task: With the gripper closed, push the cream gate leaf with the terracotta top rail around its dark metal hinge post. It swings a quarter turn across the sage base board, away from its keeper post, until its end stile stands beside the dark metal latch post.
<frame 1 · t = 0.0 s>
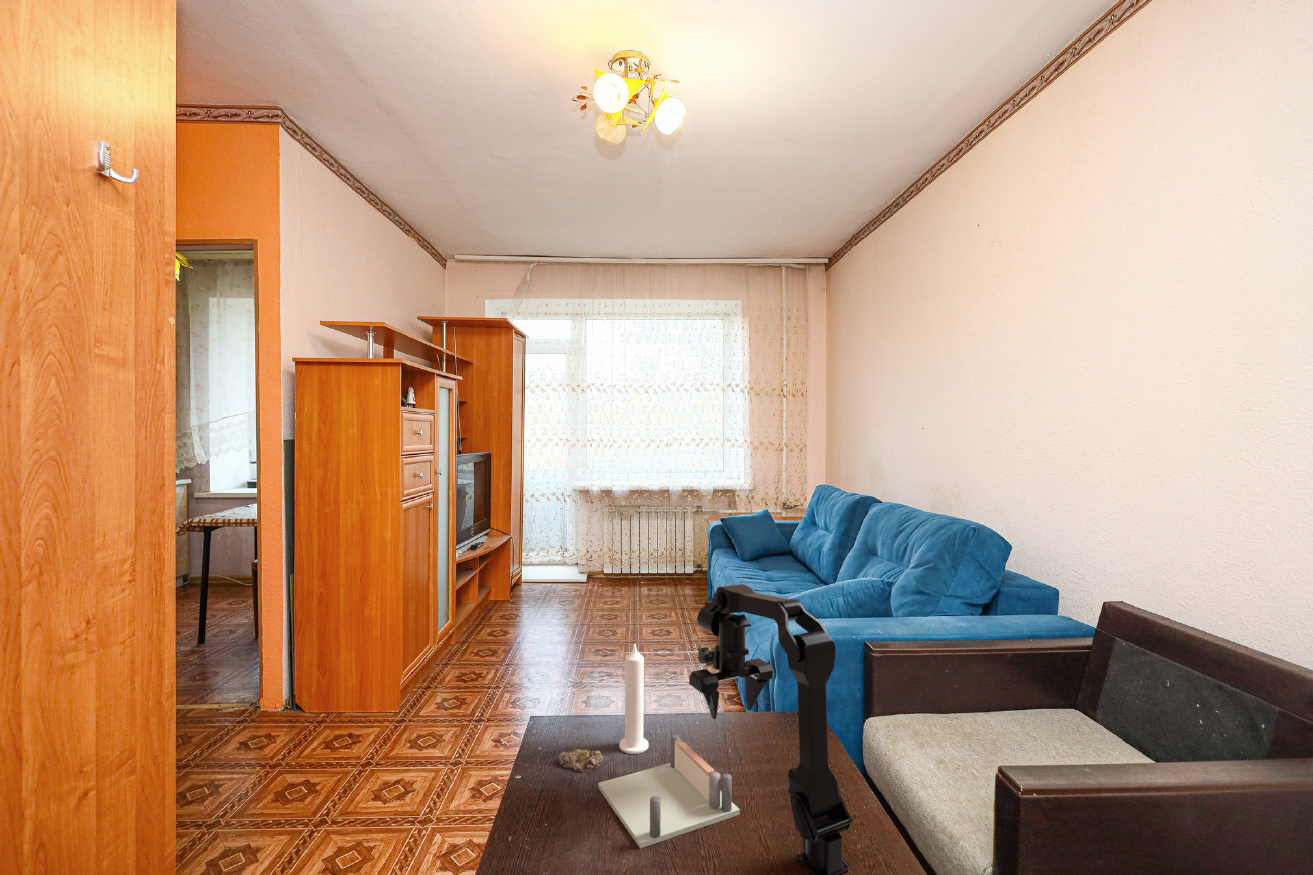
hand: (731, 713, 129), 15 cm above the table, fingers open, 9 cm apart
gate leaf: (696, 771, 125), point 4 cm above the table, hinge at 0.0°
mineral rock: (580, 764, 136), on the table
candle: (633, 747, 144), on the table
gate base: (714, 811, 119), on the table
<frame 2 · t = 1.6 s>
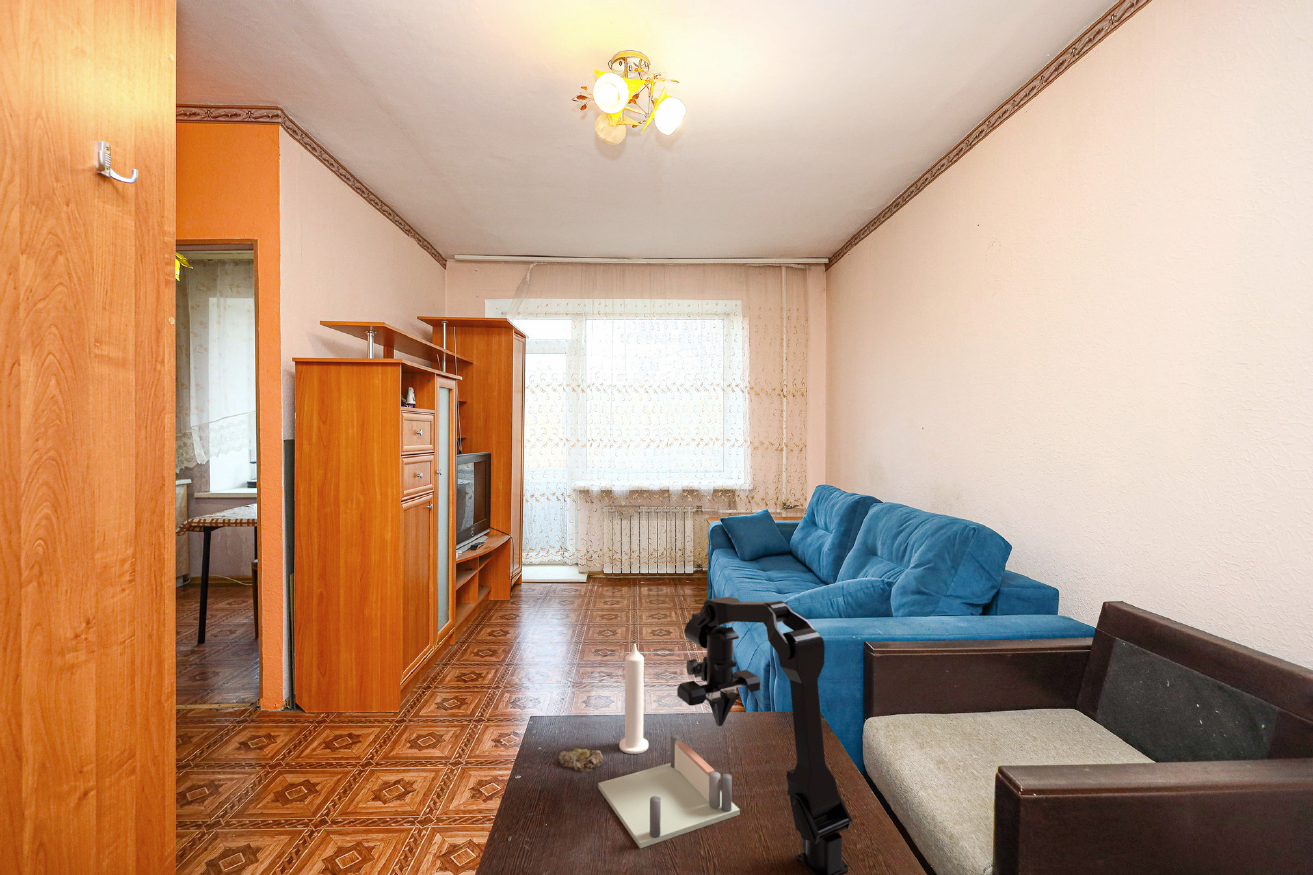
hand: (719, 725, 131), 11 cm above the table, fingers closed
nothing on the table moved.
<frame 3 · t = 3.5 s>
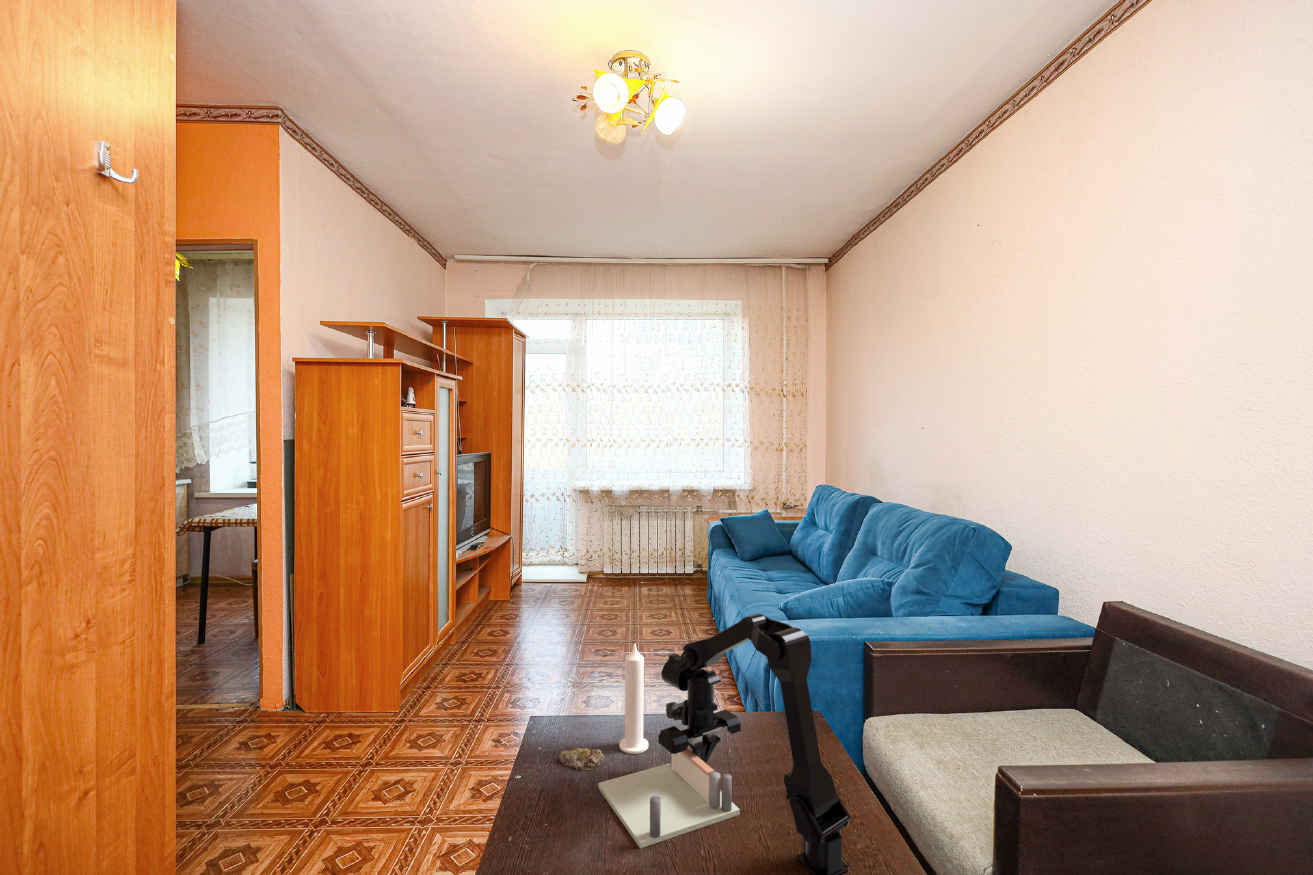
hand: (700, 769, 129), 3 cm above the table, fingers closed
gate leaf: (695, 772, 125), point 4 cm above the table, hinge at 3.2°, touching gripper
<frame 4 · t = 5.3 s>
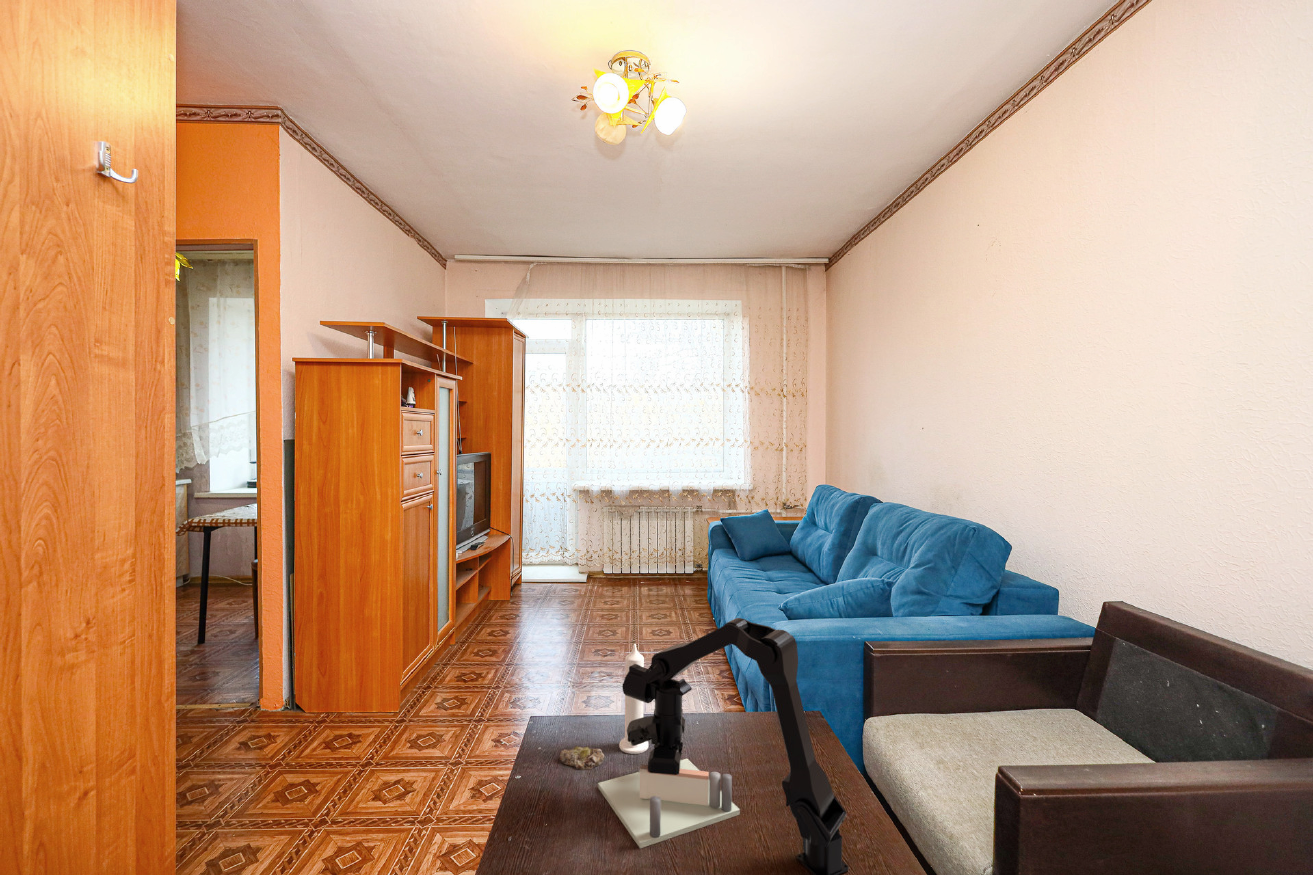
hand: (667, 782, 124), 3 cm above the table, fingers closed
gate leaf: (679, 785, 120), point 4 cm above the table, hinge at 52.5°, touching gripper
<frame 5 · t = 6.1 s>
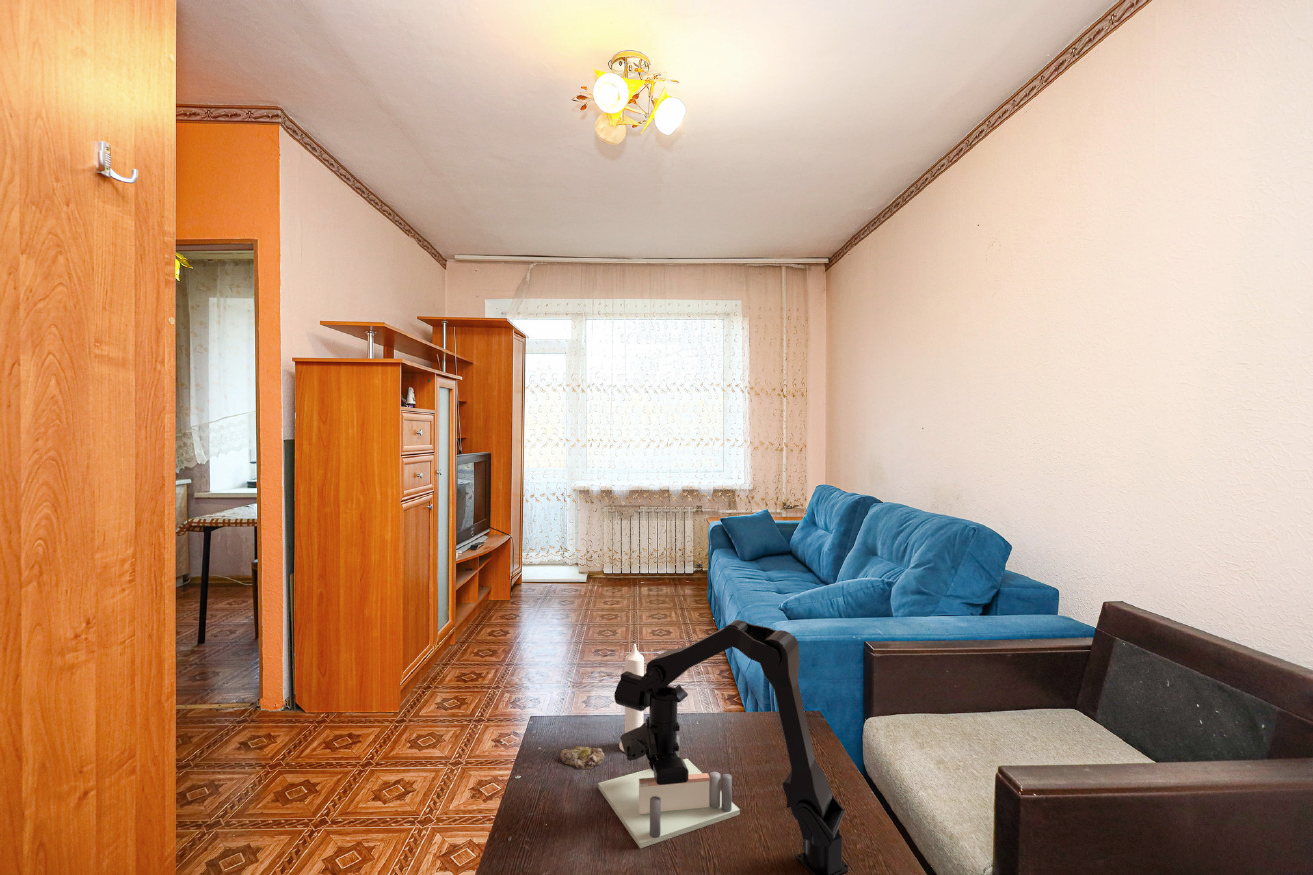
hand: (661, 791, 121), 3 cm above the table, fingers closed
gate leaf: (680, 792, 118), point 4 cm above the table, hinge at 71.9°, touching gripper
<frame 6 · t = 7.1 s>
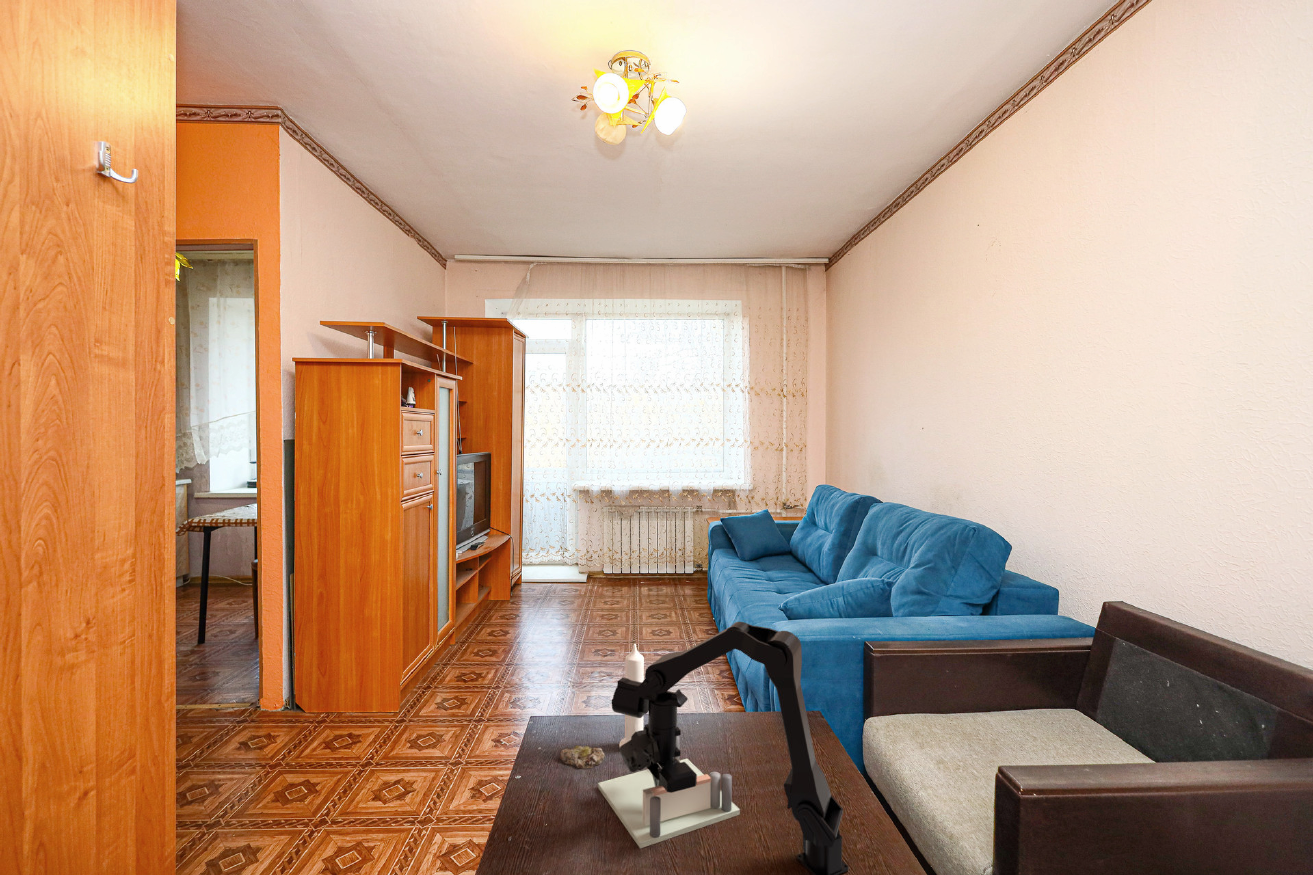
hand: (661, 800, 118), 3 cm above the table, fingers closed
gate leaf: (682, 797, 116), point 4 cm above the table, hinge at 86.0°, touching gripper
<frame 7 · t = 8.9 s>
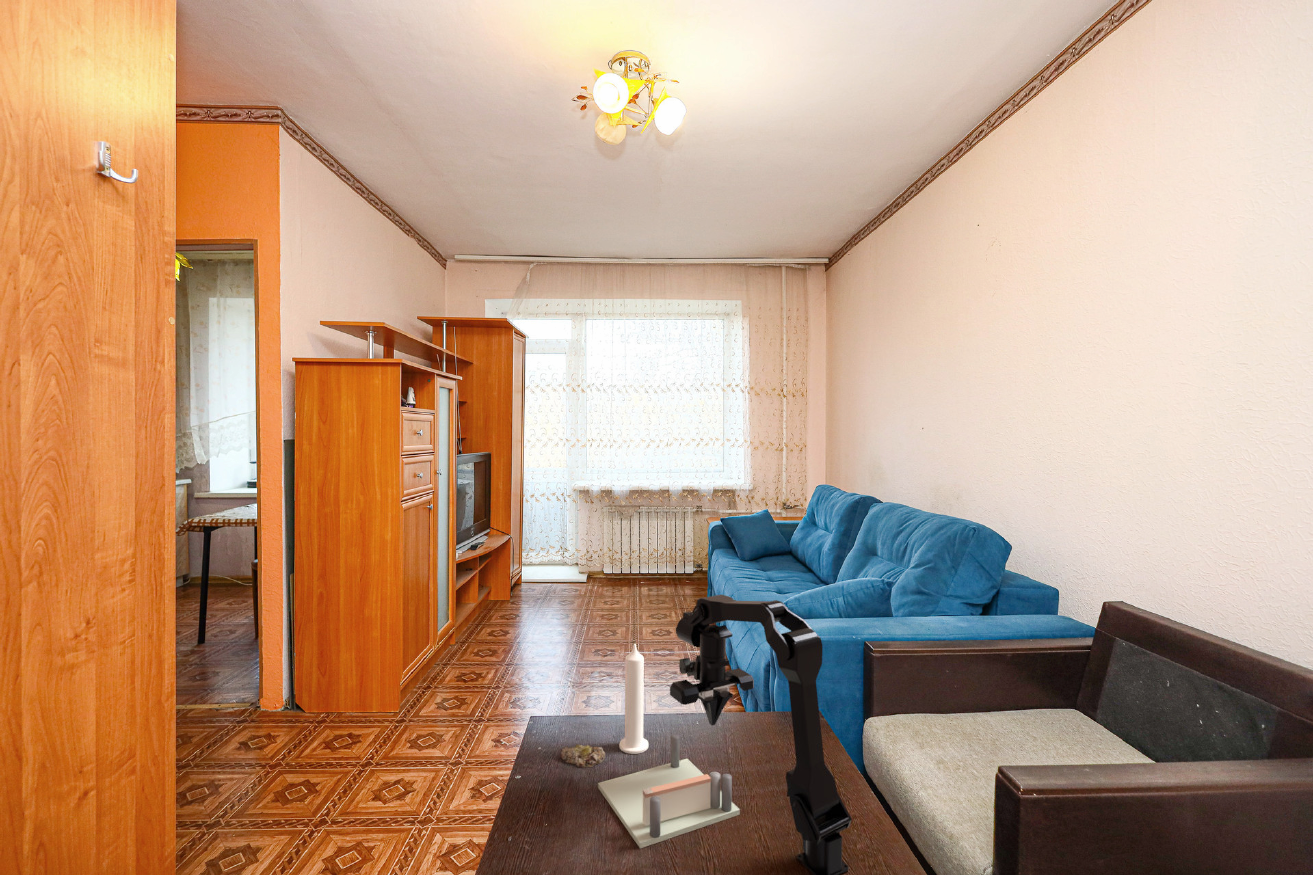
hand: (712, 724, 130), 12 cm above the table, fingers closed
gate leaf: (682, 797, 116), point 4 cm above the table, hinge at 86.1°
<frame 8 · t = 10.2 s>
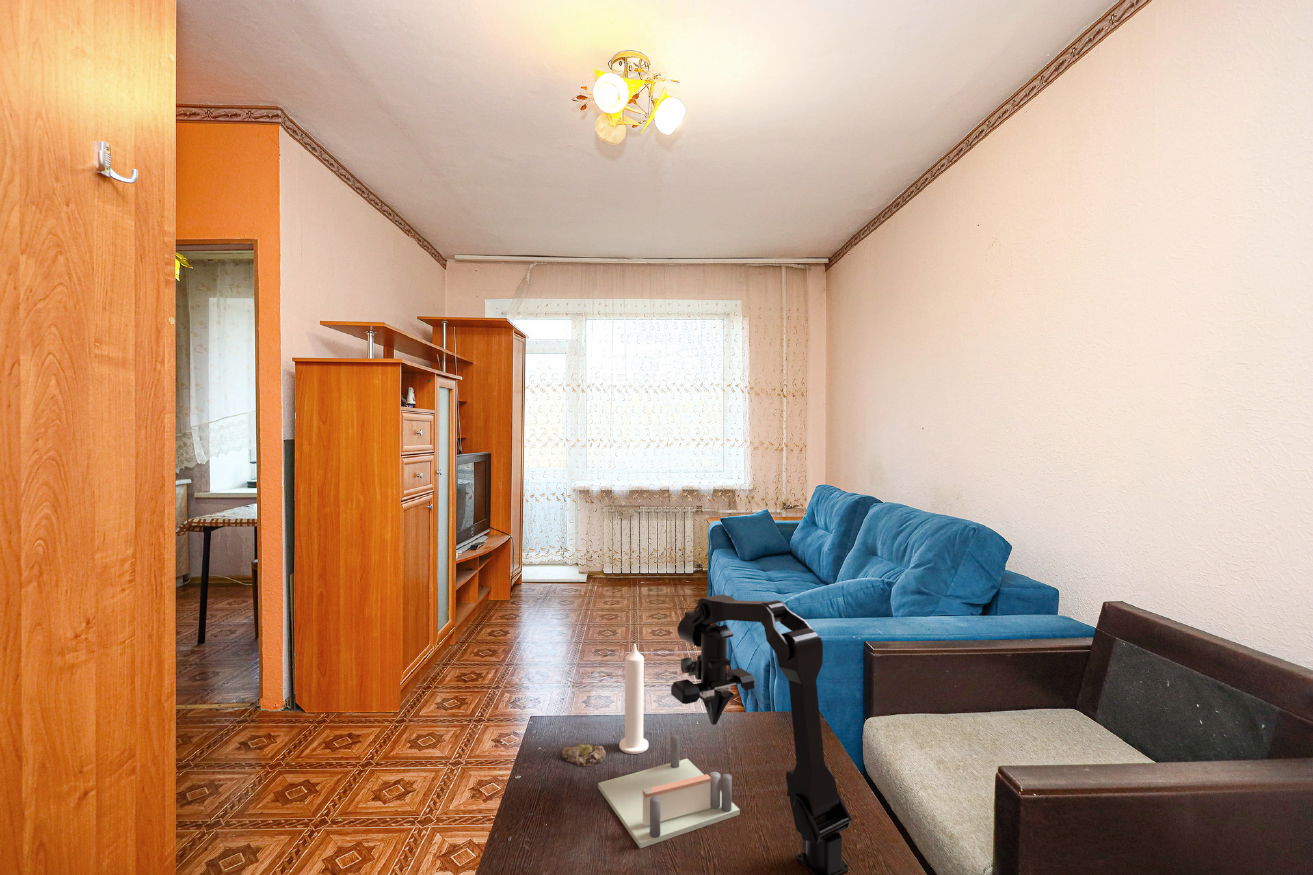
hand: (713, 723, 130), 12 cm above the table, fingers closed
at the end: gate leaf at +86° (first picture: +0°) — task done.
